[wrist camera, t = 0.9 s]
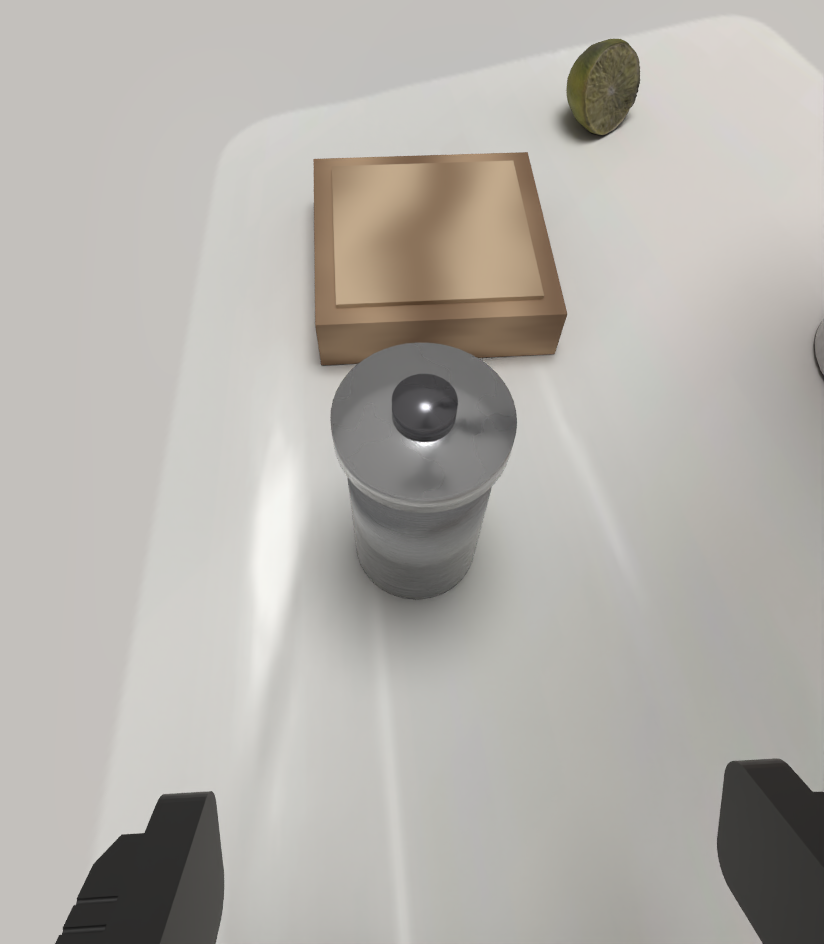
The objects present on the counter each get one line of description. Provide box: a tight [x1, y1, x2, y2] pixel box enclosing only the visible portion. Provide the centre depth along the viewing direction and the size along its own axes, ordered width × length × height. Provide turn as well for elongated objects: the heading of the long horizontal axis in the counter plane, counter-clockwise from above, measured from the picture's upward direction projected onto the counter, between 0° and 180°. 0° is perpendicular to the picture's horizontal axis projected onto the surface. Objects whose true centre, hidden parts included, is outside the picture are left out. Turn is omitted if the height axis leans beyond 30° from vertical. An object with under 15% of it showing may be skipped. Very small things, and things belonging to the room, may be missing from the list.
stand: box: [314, 152, 567, 365], centre depth 36 cm, size 12×12×3 cm
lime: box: [567, 39, 640, 135], centre depth 43 cm, size 4×5×5 cm
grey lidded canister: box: [331, 343, 517, 599], centre depth 25 cm, size 6×6×11 cm
